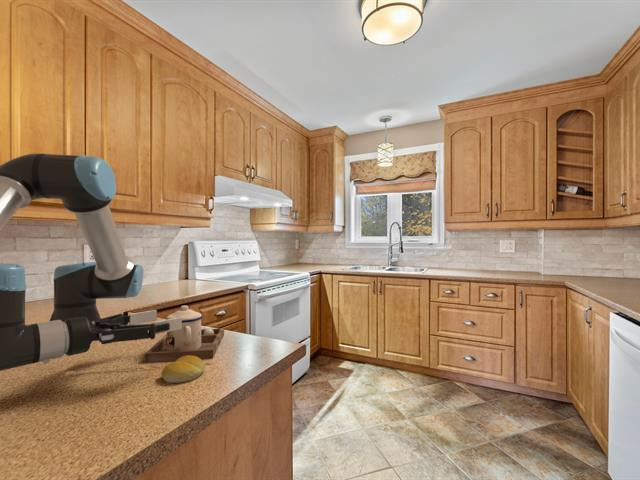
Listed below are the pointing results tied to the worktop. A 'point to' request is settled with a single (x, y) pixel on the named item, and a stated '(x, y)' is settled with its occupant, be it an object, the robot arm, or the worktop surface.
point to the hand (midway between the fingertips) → (168, 318)
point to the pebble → (208, 332)
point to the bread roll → (183, 369)
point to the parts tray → (204, 352)
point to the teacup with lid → (185, 331)
